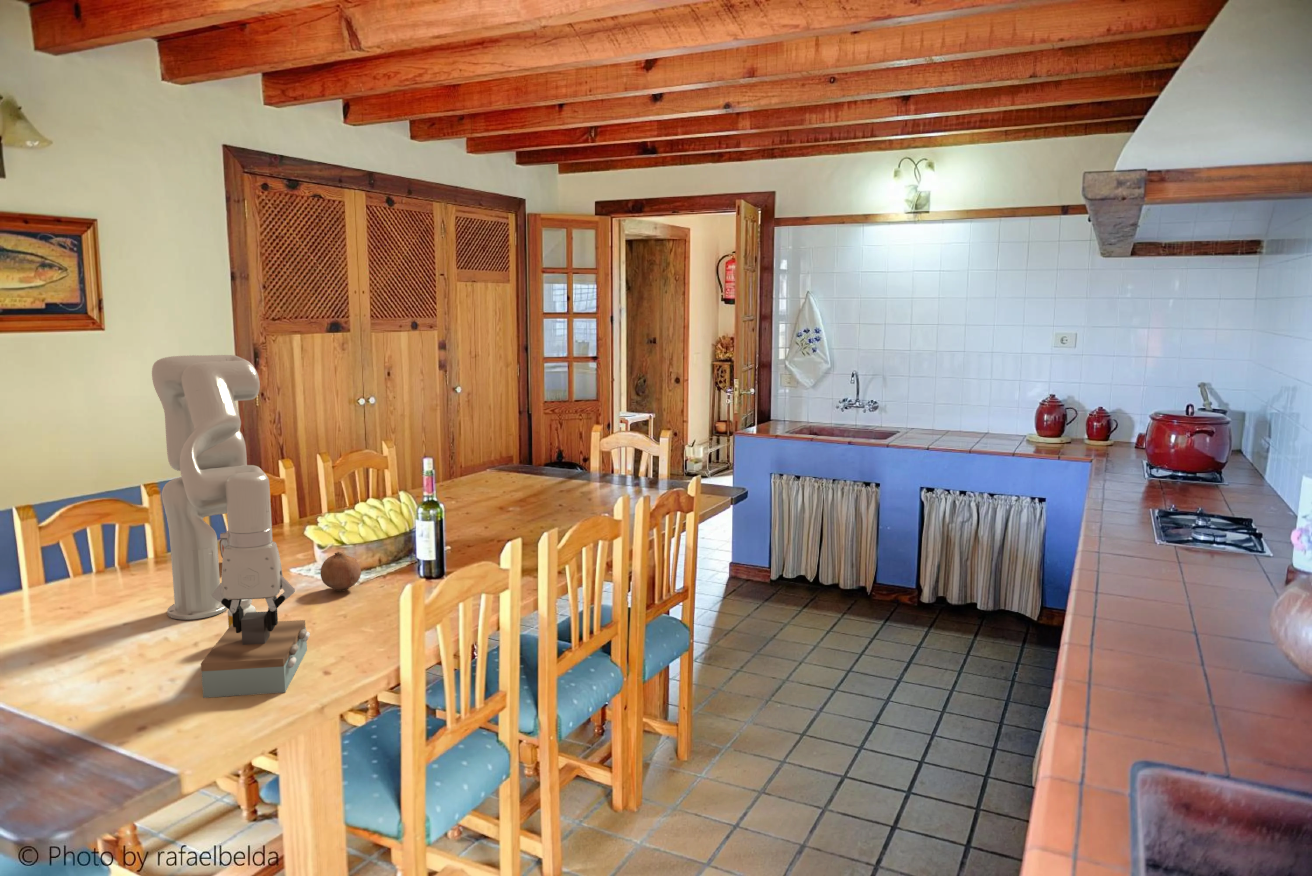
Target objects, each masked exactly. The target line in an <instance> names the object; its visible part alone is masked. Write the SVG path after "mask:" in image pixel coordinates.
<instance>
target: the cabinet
mask: <svg viewBox="0 0 1312 876" xmlns="http://www.w3.org/2000/svg"><path fill="white" fill-rule="evenodd" d="M305 630H306V631H307V627H306V626H305ZM310 636H311V633H310V631H307V633H306V635H305V637H304V638H303V639H299V640H298V641H297V643H296V644H297V645H298V647H299V648H298V650H297V652H296V654H295V655H290V656H289V658H288V660H287V661H286V663H285V665H284V666H283V667H266V668H250V669H233V670H217V671H201V685H202V696H203V697H202V698H203V699H204V698H218V697H219V698H221V697H235V696H236V697H237V696H249V695H250V696H251V695H265V694H266V695H267V694H281V693H286V691H287V690H288V688H289V686H290V685H291V682H292V680H293V678H294V677H295V674H296V673H297V671H298V669H299V667H300V665H301V663H302V661H303V659H304V657H305V655H306V653H307V651H308V645H307V644H308V640H309V638H310Z"/></svg>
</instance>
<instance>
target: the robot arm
mask: <svg viewBox="0 0 1312 876" xmlns="http://www.w3.org/2000/svg"><path fill="white" fill-rule="evenodd" d="M151 378H152V384H153V387H154V391H155V392H156V395H157V397H158V399H159V401H160V402H161V405H162V408H163V412H164V422H165V423H164V424H165V440H166V441H165V443H166V454H167V459H168V464H169V465H170V467H171V468H172V469H173V470H175V471H178V472H180V475H181V477H177V478H173V479H171V480H169V481H168V482H166V483H165V485H164V486H163V488H162V490H161V500H162V505H163V507H164V512H165V516H166V520H167V527H168V533H169V534H168V535H169V546H170V547H169V548H170V557H171V559H170V560H171V570H172V571H171V572H172V585H173V599H174V604H172V605H170V606H169V607H168V608H167V610H166V611H167V616H168V617H169V618H172V619H175V620H181V621H182V620H183V621H185V620H186V621H187V620H189V621H190V620H198V619H199V620H200V619H206V618H208V617H209V618H210V617H213V616H216V615H219V614H221V613H224V612H225V611H226V610H227V611H228V610H229V611H230V612H231V613H232V618H233V627H236V633H240V632H241V631H242V630H241V619H242V618H243V616H244V612H243V609H242V608H241V606H240V604H241V601H242V600H243V599H252V600H260V599H261V600H262V599H263V600H264V599H265V601H266V604H267V606H268V609H267V630H268V631H272V630H273V629H274V627H275V625H277V624H278V621H279V618H278V617H279V616H278V608H279V607H280V606H281V605H282V604H283V602H285V601H286V600H287V599H289V598H290V597H291V596H293V594H294V593H295V592H296V588H294V587H293V585H292V584H291V583H289V581H288V580H287V579H286V578H285V577H284V576H283V570H282V569H283V568H282V562H281V556H280V551H279V548H278V546H277V545H278V544H277V542H276V541H273V527H272V526H273V524H272V507H271V505H272V503H271V489H270V479H269V476H267V474H266V472H265V471H263V470H262V468H260V466H257V465H254V464H248V459H247V457H248V456H247V446H246V441H245V438H244V435H243V433H242V432H241V431H240V429H241V427H242V426H241V425H242V420H241V417H240V414H239V412H238V411H239V410H238V407H237V405H236V402H237V401H238V402H239V401H241V402H242V401H253V400H254V399H256V398H257V397H258V395H259V393H260V388H261V381H260V376H259V373H258V372H257V370H256V368H255V366H254V365H253V364H252V363H251V362H250V361H249V360H247V359H245V358H243V357H240V356H238V355H234V354H211V355H196V354H195V355H194V354H193V355H191V354H190V355H173V356H166V357H162V358H160V359H156V361H155V362H154V363H153V365H152V368H151ZM224 514H226V515H227V516H226V517H227V531H225V532H220V534H219V535H220V536H219V537H220V538H219V540H225V541H227V542H228V544H229V545H227V546H226V547H224V552H223V558H222V562H221V577H220V562H219V548H218V547H219V545H218V536H217V533H216V531H215V530H214V528H213V527H212V526H211V525H210V524H208V523H207V522H205V521H204V519H205V517H206V518H207V517H211V516H217V515H218V516H219V515H224ZM281 590H283V593H281V594H280V595H279V593H280V592H281ZM277 595H279V596H278V597H277Z"/></svg>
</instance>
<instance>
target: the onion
mask: <svg viewBox="0 0 1312 876" xmlns="http://www.w3.org/2000/svg"><path fill="white" fill-rule="evenodd" d="M361 569H362V568H361V565H360V563H359V562H358V561H357V559H355V558H354V557H352V556H350V555H347V554H345V553H344V552H341V551H336V552H334V553H333V555H330V556H328V557H327V558H326V559H324V561H323V563H322V565H321V568H320V578H321V581H322V583H323V584H324V585H325V586H327V587H329V588H330V589H332V590H335V592H344V591H347V590H350V588H352V587H353V586H354V585H355V584H357V583H358V582H359V580H360V578H361V575H362V570H361Z"/></svg>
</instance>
